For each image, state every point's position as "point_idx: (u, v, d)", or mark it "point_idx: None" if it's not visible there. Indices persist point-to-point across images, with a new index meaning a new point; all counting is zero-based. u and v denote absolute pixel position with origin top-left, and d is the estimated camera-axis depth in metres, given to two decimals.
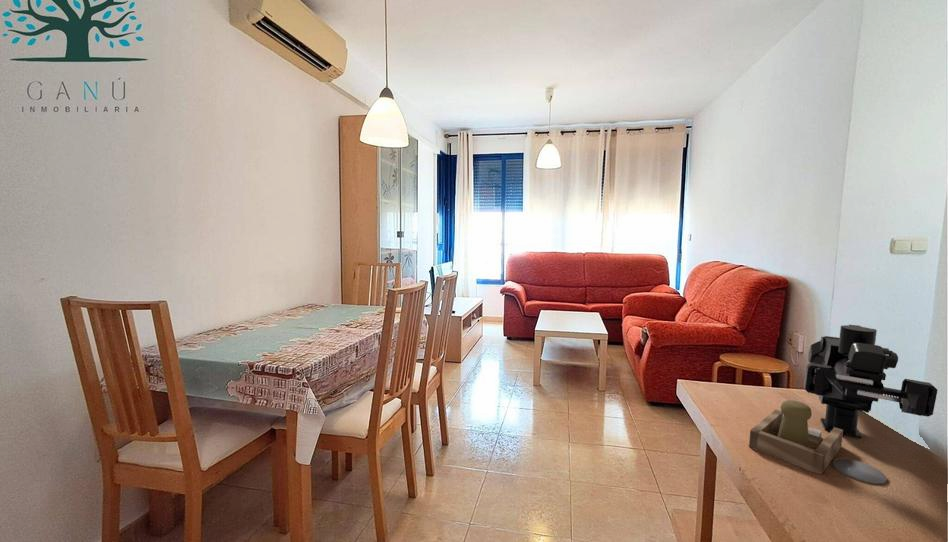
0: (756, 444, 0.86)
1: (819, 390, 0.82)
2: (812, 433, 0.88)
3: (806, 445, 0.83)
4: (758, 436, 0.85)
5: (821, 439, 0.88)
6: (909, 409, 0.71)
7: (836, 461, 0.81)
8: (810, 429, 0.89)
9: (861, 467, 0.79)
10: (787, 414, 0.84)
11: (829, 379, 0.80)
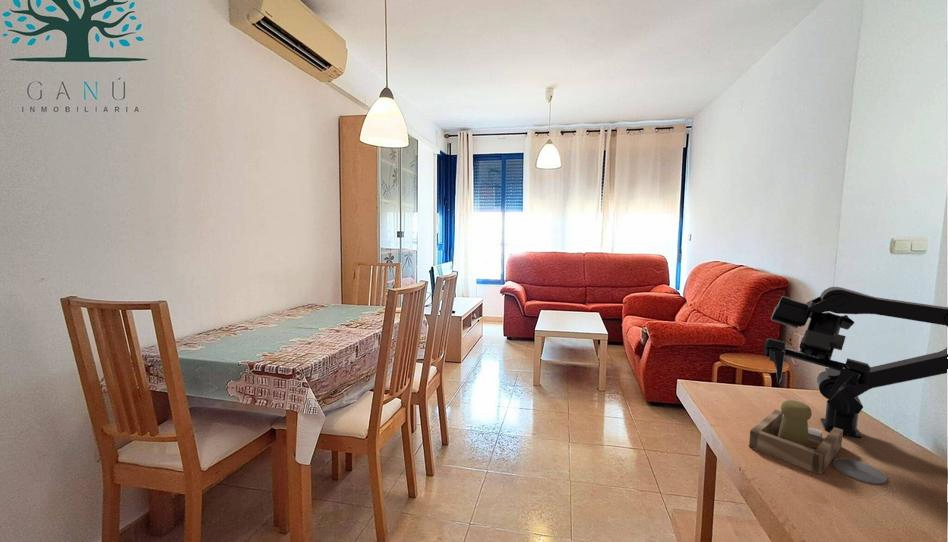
0: (756, 444, 0.86)
1: (773, 359, 0.97)
2: (813, 433, 0.88)
3: (806, 445, 0.83)
4: (758, 436, 0.85)
5: (822, 439, 0.88)
6: (829, 395, 0.86)
7: (836, 461, 0.81)
8: (811, 429, 0.90)
9: (861, 467, 0.79)
10: (787, 414, 0.84)
11: (776, 360, 0.94)
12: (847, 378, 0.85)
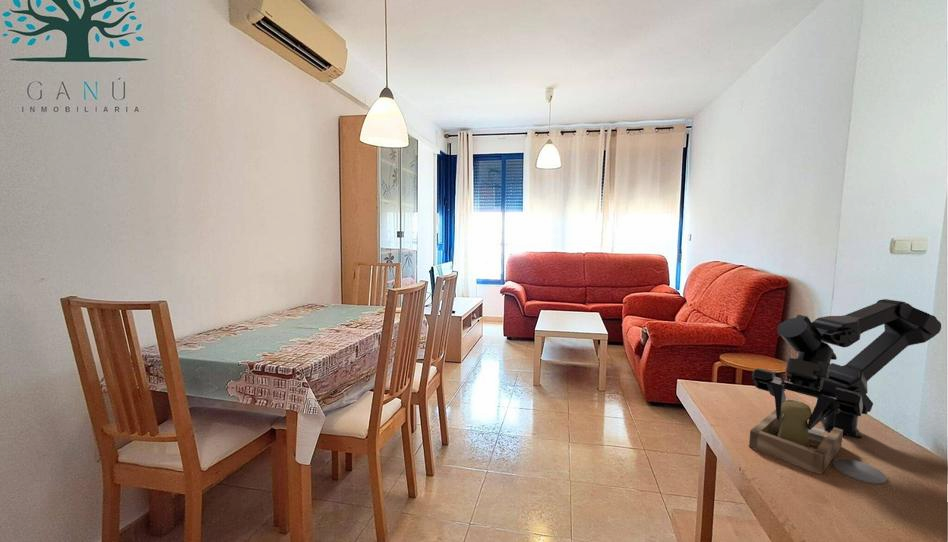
0: (756, 444, 0.86)
1: (773, 394, 0.92)
2: (816, 433, 0.88)
3: (806, 445, 0.83)
4: (758, 436, 0.85)
5: (824, 438, 0.88)
6: None
7: (836, 461, 0.81)
8: (813, 429, 0.90)
9: (861, 467, 0.79)
10: (787, 414, 0.84)
11: (775, 394, 0.89)
12: (825, 405, 0.82)
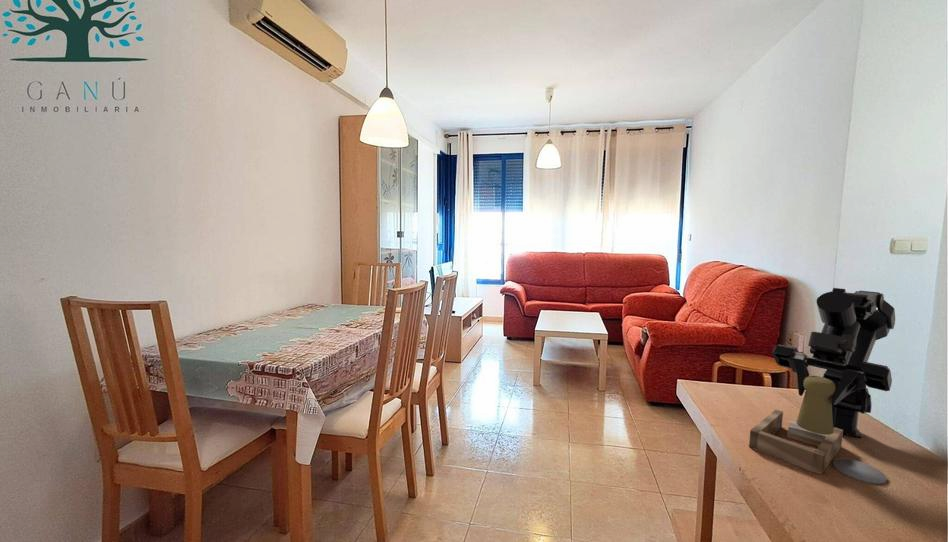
0: (756, 444, 0.86)
1: (796, 370, 0.88)
2: None
3: (829, 421, 0.80)
4: (758, 436, 0.85)
5: None
6: None
7: (836, 461, 0.81)
8: None
9: (861, 467, 0.79)
10: (810, 390, 0.81)
11: (797, 370, 0.86)
12: (850, 380, 0.79)
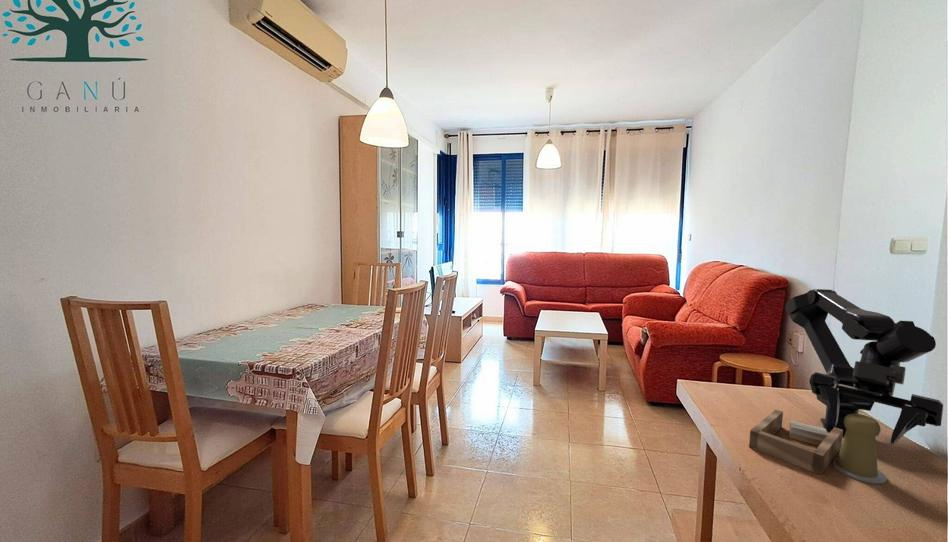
0: (756, 444, 0.86)
1: (826, 398, 0.85)
2: (820, 432, 0.88)
3: (874, 464, 0.76)
4: (758, 436, 0.85)
5: None
6: None
7: None
8: (815, 428, 0.90)
9: None
10: (853, 429, 0.77)
11: (829, 398, 0.82)
12: (911, 417, 0.73)
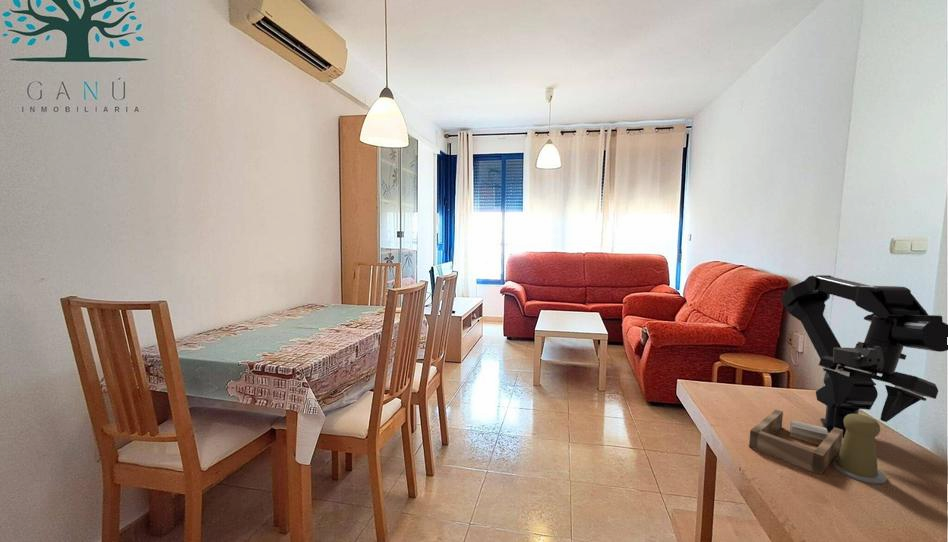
0: (756, 444, 0.86)
1: None
2: (821, 431, 0.88)
3: (874, 464, 0.76)
4: (758, 436, 0.85)
5: None
6: None
7: None
8: (816, 427, 0.90)
9: None
10: (853, 429, 0.77)
11: (832, 380, 0.89)
12: (895, 395, 0.76)
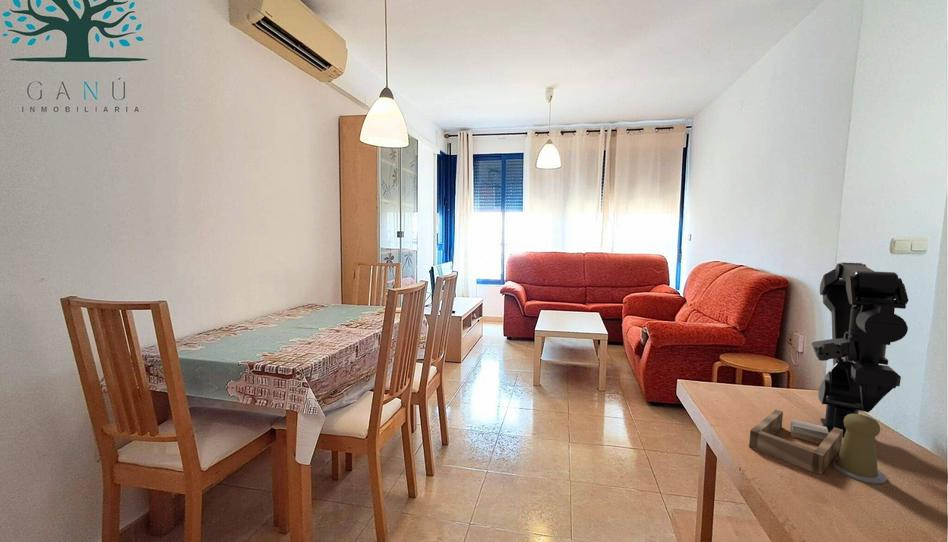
0: (756, 444, 0.86)
1: None
2: (821, 430, 0.89)
3: (874, 464, 0.76)
4: (758, 436, 0.85)
5: None
6: None
7: None
8: (816, 426, 0.91)
9: None
10: (853, 429, 0.77)
11: (845, 369, 0.88)
12: (860, 385, 0.78)
